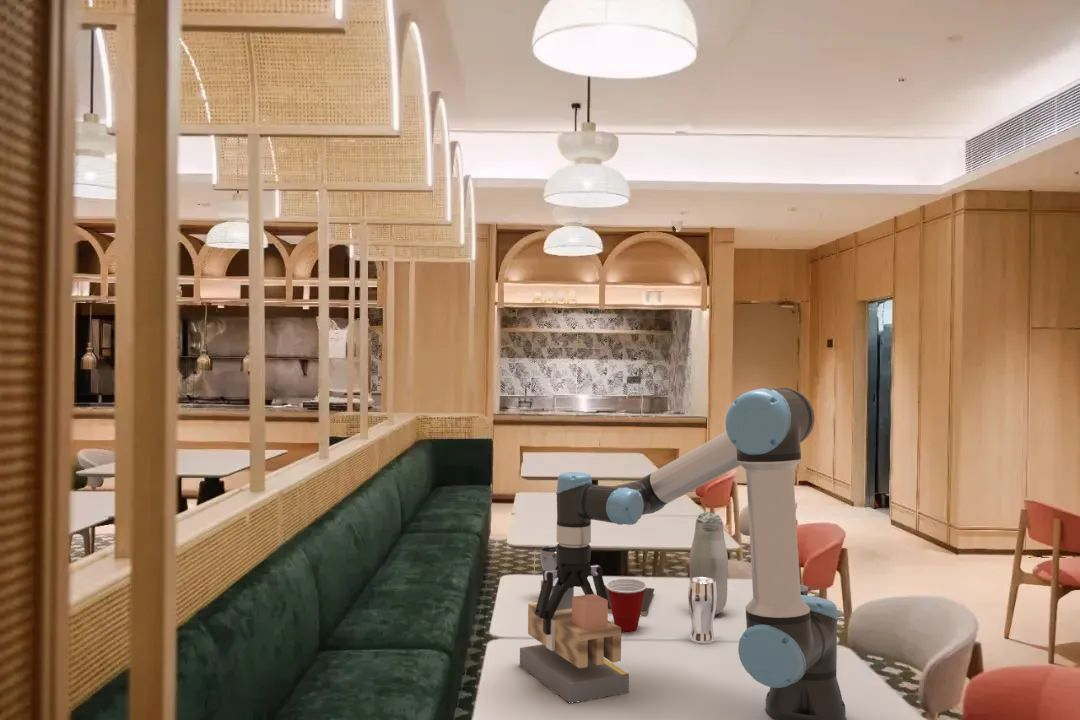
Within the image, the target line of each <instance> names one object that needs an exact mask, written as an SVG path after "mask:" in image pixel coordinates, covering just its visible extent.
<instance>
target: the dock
mask: <svg viewBox="0 0 1080 720" xmlns="http://www.w3.org/2000/svg"><path fill="white" fill-rule="evenodd" d="M519 667H521V668H522V669H524V670H525V671H527V672H528V673H529V674H530V675H532V676H533V677H534V678H536V679H537V680H538V681H539V682H541V683H542V684H544V685H545V686H546V687H548V689H550V691H551V690H552V692H554V693H555V694H556V695H557V696H559V695H560V696H561V697H560V696H559V697H560V698H562V699H563V698H564V699H565V700H564V699H563V700H564V701H566V700H567V701H568V702H570V703H572V702H577V701H582V700H587V701H590V700H589V699H592V700H595V699H594V698H598V699H600V698H599V697H603V698H606V697H605V696H608V697H610V696H609V695H613V696H616V695H615V694H618V695H622V694H621V693H623V694H626V693H627V692H629V691H630V689H629V687H630V684H629V683H630V681H629V680H630V673H629V672H628V671H626V670H624V669H622V668H621V667H619V665H616V664H615V663H614V662H611V661H609V660H608V659H606V658H604V664H601V665H596V664H594V663H592V662H591V661H589V660H588V667H584V668H578V667H576V666H575V665H573V664H572V663H570V662H569V661H567V660H566V659H564V658H563V657H561V656H560V655H558V654H557V653H555V652H554V651H551V650H549V649H548V648H547V647H546V646H545V645H544V644H542V643H541V644H535V645H529V646H522V647H519ZM627 694H628V693H627ZM567 701H566V702H567ZM568 702H567V703H568ZM582 702H583V701H582ZM570 703H569V704H570ZM577 703H578V702H577ZM572 704H573V703H572Z"/></svg>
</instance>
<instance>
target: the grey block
mask: <svg viewBox="0 0 1080 720" xmlns="http://www.w3.org/2000/svg"><path fill="white" fill-rule="evenodd" d="M557 581H558V578H556V579H555V580H554V581H553V586H552V590H551V594H550V597H551V595H552V593H553V591H554V589H555V585H556V583H557ZM542 584H543V579H541V580H540V588H541V587H542ZM562 586H563V585H562ZM574 591H575V587H573V588H568V590H567V591H566V592H565V593H564V595H563V597H562V599H561V601H560V603H559V605H558V607H557V609H556V610H562V609H569V608H572V597H574V595H575V594H574V593H575V592H574ZM549 599H550V598H549Z"/></svg>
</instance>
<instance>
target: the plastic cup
mask: <svg viewBox="0 0 1080 720" xmlns="http://www.w3.org/2000/svg"><path fill="white" fill-rule="evenodd" d="M604 585H606V588H607V589H608V592H609V596H610V602H611V609H612V614H611V615H612V619H613V623H614V624H615V625H617V626H619V627H621V633H626V632H627V633H634V631H635V632H636V630H638V628H639V622H640V618H641V616H640V614H641V608H642V602H643V597H644V593H645V589H646V588H648V584H647V582H646V581H644V580H642V579H638V578H631V577H629V578H628V577H621V578H620V577H619V578H614V579H611V580H609V581H606V583H604Z"/></svg>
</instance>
